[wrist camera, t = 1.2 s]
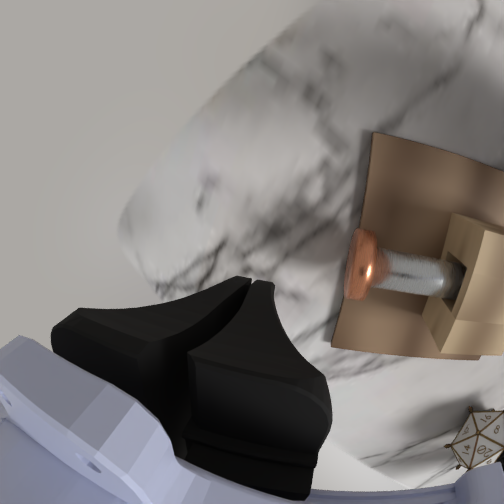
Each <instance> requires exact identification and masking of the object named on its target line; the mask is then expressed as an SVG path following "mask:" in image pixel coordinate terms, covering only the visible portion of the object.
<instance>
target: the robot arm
mask: <svg viewBox="0 0 504 504" xmlns="http://www.w3.org/2000/svg"><path fill="white" fill-rule="evenodd" d="M251 282H252V279H251V278H246V277H241V276H235V277H232V278H230V279H227V280H225V281H223V282H221V283H219V284H217V285H214V286H212V287H210V288H208V289H205V290H203V291H200V292H198V293H195V294H193V295H190V296H187V297H184V298H181V299H178V300H174V301H170V302H167V303H162V304H157V305H151V306H145V307H138V308H126V309H92V308H78V309H77V310H76V311H74V312H73V313H71V314H70V315H69V316H67V317H66V318H65V319H64V320H62V321H61V322H59V323H58V324H57V325H55V326H54V327H53V329H52V332H51V345H52V349H53V352H52V351H50V350H49V349H47V348H45V347H44V346H42V345H41V344H39V343H38V342H36V341H35V340H33V339H29V338H27V337H23V336H20V335H19V336H17V337H16V338H15V339H13V340H12V341H11V342H9V343H8V344H7V345H5V346H4V347H2V348H1V349H0V504H504V472H503V468H502V465H501V462H496V463H492V464H488V465H484V466H480V467H476V468H473V469H471V470H469V471H467V472H466V473H465V474H463V475H462V476H461V477H460V478H459V479H458V480H457V481H456V482H455V483H452V484H447V485H441V486H435V487H428V488H420V489H410V490H398V491H377V492H352V491H330V490H317V489H311V485H312V478H313V471H314V468H315V467H316V464H317V460H318V452H319V450H320V448H321V446H322V444H323V443H324V441H325V439H326V437H327V435H328V433H329V432H330V429H331V425H332V405H331V398H330V393H329V389H328V385H327V381H326V378H325V376H324V374H322V373H321V372H320V371H319V370H317V369H316V368H315V367H314V366H313V365H311V364H310V363H309V362H308V361H307V360H306V359H305V358H304V357H303V356H302V355H301V354H300V353H299V352H298V351H297V349H296V348H295V347H294V345H293V344H292V343H291V341H290V339H289V338H288V336H287V334H286V333H285V331H284V329H283V327H282V324H281V322H280V319H279V317H278V314H277V310H276V306H275V302H274V290H275V285H274V284H273V282H268V281H262V280H256V281H254V282H253V283H252V284H251Z"/></svg>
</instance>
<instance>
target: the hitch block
mask: <svg viewBox="0 0 504 504" xmlns="http://www.w3.org/2000/svg"><path fill="white" fill-rule="evenodd" d="M359 228H360V229H365V230H371V231H374V232H375V233H376V237H377V247H379V248H385V249H390V250H395V251H401V252H406V253H411V254H417V255H422V256H427V257H432V258H437V259H442V260H447V261H452V262H457V263H462V264H464V265H465V266H466V267H467V270H466V274H465V277H464V280H463V283H462V286H461V288H460V291H459V294H458V297H457V299H456V300H451V299H445V298H438V297H431V296H425V295H418V294H412V293H405V292H399V291H392V290H386V289H380V288H373V287H370V290H369V292H368V295H367V297H366V298H365V299H364V300H363V301H359V300H352V299H346V298H345V297H343V301H342V304H341V308H340V312H339V316H338V319H337V323H336V327H335V330H334V334H333V337H332V340H331V347H334V348H341V349H348V350H355V351H363V352H371V353H379V354H388V355H398V356H409V357H421V358H435V359H453V360H479V359H480V357H481V355H497V356H501V355H502V353H503V352H504V172H503V171H500V170H498V169H495V168H493V167H490V166H488V165H485V164H483V163H480V162H477V161H474V160H472V159H469V158H466V157H463V156H460V155H457V154H454V153H451V152H448V151H445V150H442V149H438V148H435V147H432V146H428V145H425V144H421V143H417V142H413V141H410V140H406V139H402V138H398V137H393V136H389V135H385V134H380V133H375V132H373V133H372V141H371V150H370V159H369V167H368V174H367V181H366V188H365V194H364V201H363V207H362V212H361V218H360V224H359Z"/></svg>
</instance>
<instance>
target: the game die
mask: <svg viewBox="0 0 504 504" xmlns="http://www.w3.org/2000/svg"><path fill="white" fill-rule="evenodd" d="M468 410H469V412H470V415H469V416H468V418H467V420H466V422H465V423H464V425H463V426H462V428H461V430H460V431H459V433H458V434H457V436H456V437H455V439H454V440H453V442H452V443H451V444H446V445H445V446H444V447H445V448H446V449H447V448H449V447H451V448H452V450H453V452H454V454H455V456H456V458H457V460H458V462H459V465H458V466H456V470H457V469H459V468H460V467H461V466H463V467H465V468H467V469H468V470H467V471H469V470H471V469H473V468H476V467H480V466H484V465H488V464H492V463H495V462H496V460H497V459H498V458H499V456H500V455H501V453H502V452H503V450H504V410H503V411H495V410H494V409H493V410H491V411H473V409H472V407H470V406H469V409H468ZM467 471H466V472H467Z"/></svg>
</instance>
